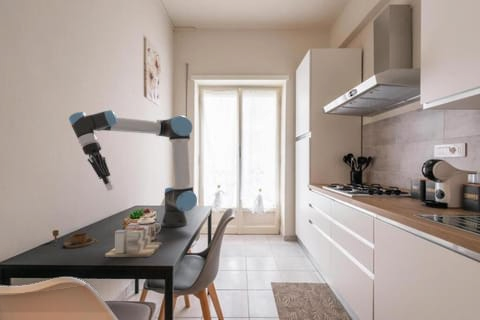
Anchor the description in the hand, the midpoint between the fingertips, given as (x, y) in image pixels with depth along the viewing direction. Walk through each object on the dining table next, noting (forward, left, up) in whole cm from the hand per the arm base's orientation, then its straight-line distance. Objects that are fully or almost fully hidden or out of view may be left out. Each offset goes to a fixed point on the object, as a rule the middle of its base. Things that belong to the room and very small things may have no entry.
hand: (111, 189), depth 132 cm
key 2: (+4, +12, -24) cm, 27 cm away
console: (+11, +16, -25) cm, 32 cm away
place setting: (-1, -17, -26) cm, 31 cm away
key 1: (+17, +12, -24) cm, 32 cm away
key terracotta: (+11, +14, -24) cm, 30 cm away
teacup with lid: (-7, +16, -25) cm, 31 cm away
